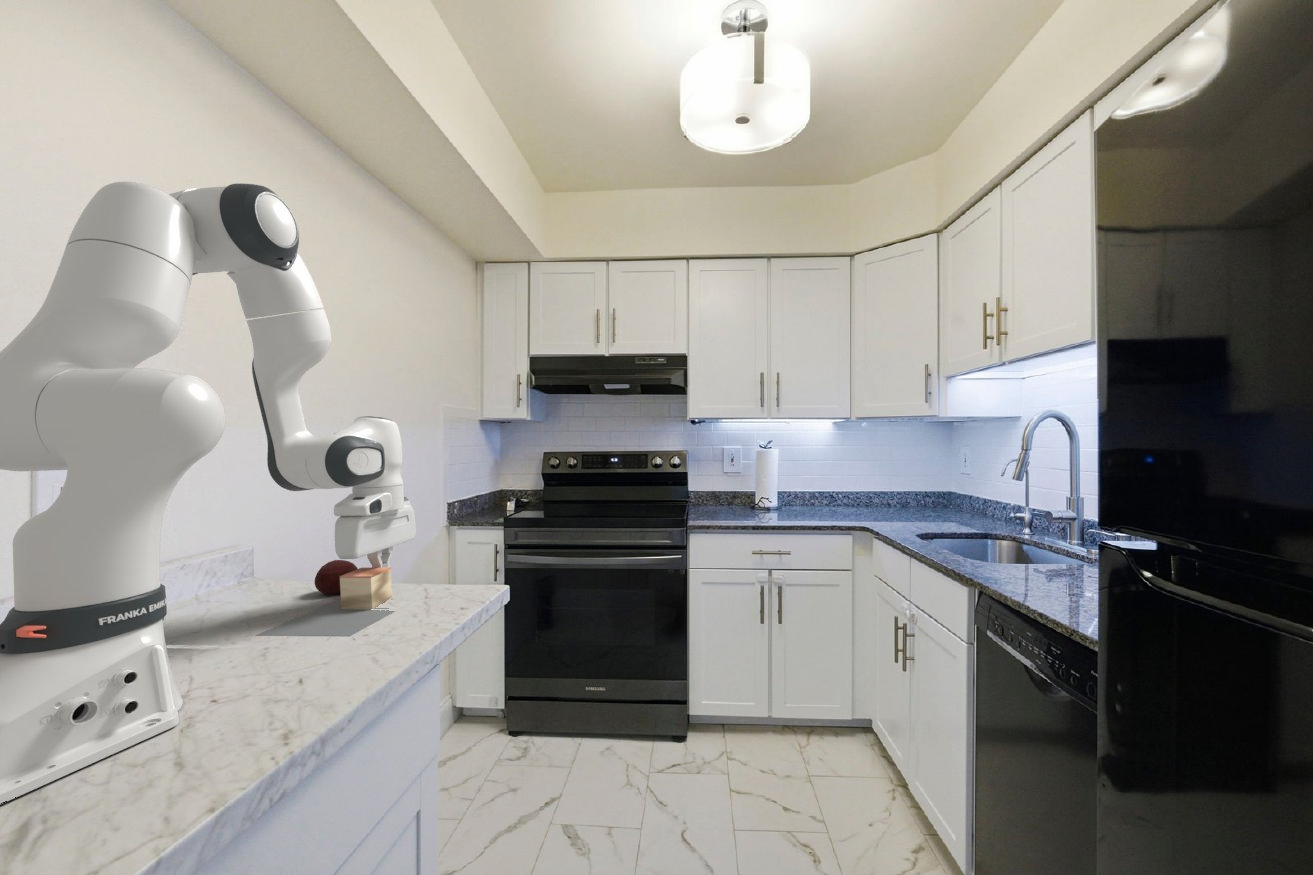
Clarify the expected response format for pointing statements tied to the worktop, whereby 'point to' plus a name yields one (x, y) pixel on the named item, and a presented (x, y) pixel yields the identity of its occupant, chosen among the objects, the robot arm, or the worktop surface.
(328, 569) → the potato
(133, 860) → the worktop surface
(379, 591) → the block
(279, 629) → the mat
